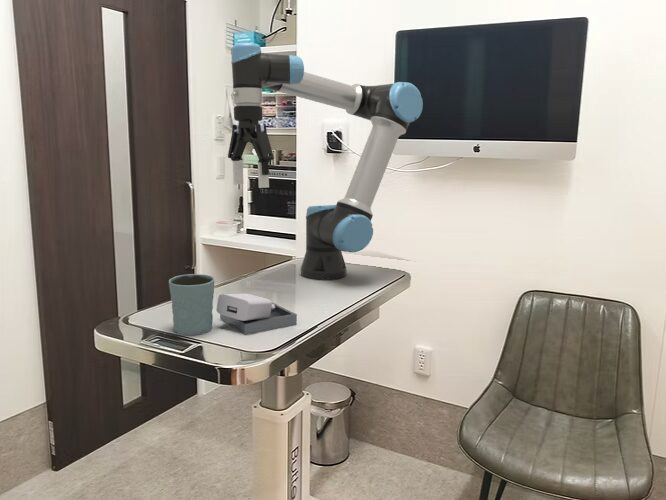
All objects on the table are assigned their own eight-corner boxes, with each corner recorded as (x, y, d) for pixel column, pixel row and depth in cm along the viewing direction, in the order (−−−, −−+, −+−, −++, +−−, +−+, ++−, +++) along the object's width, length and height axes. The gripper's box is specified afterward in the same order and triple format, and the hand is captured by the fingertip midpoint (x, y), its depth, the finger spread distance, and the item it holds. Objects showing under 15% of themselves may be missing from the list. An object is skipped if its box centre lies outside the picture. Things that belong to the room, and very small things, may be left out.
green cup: (207, 320, 135) (205, 272, 132) (222, 332, 126) (221, 281, 124) (165, 326, 129) (163, 277, 127) (178, 340, 121) (176, 286, 119)
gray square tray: (269, 310, 143) (269, 300, 143) (296, 324, 133) (296, 314, 132) (220, 318, 136) (220, 309, 135) (245, 334, 125) (245, 324, 124)
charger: (284, 318, 137) (246, 322, 124) (255, 310, 142) (215, 313, 129) (287, 299, 137) (249, 301, 124) (258, 291, 142) (218, 293, 129)
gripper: (213, 107, 154) (217, 183, 158) (260, 102, 135) (262, 190, 139) (237, 107, 158) (240, 182, 163) (286, 103, 139) (287, 188, 144)
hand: (250, 186), depth 151 cm, fingers open, 13 cm apart
